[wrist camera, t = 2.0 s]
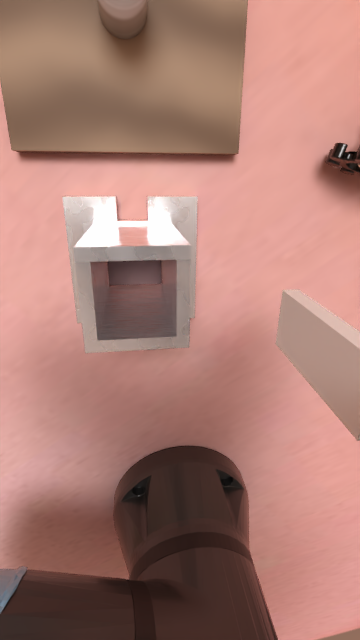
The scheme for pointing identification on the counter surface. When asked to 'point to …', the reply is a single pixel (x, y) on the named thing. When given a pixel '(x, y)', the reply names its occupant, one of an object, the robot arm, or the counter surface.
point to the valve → (344, 159)
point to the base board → (123, 75)
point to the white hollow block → (133, 245)
